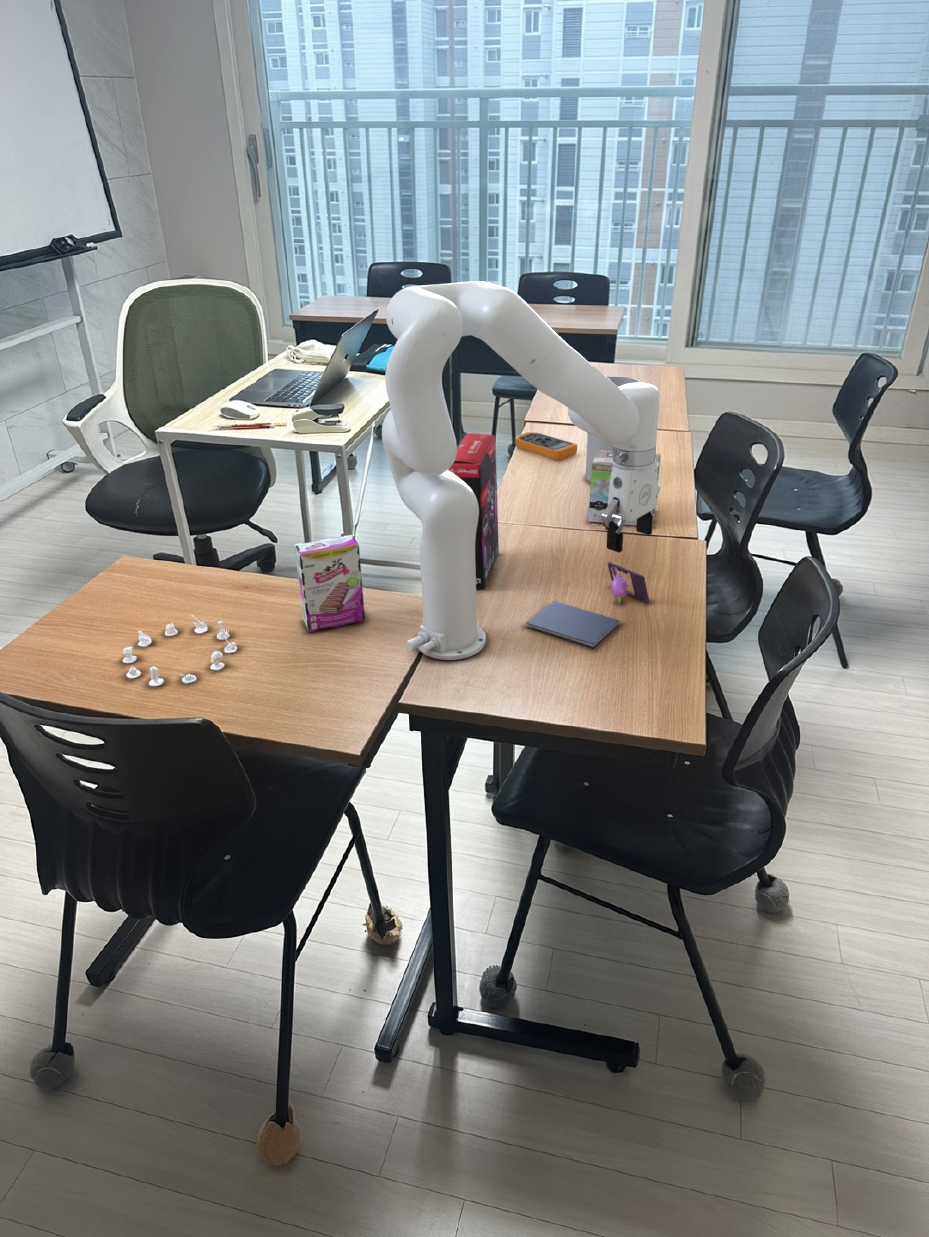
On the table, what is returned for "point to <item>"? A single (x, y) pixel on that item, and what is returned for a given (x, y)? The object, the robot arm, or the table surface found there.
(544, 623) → the notebook
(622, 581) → the purple toy package
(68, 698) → the table surface
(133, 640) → the table surface
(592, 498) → the tea box
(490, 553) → the graphics card box
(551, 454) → the multimeter
